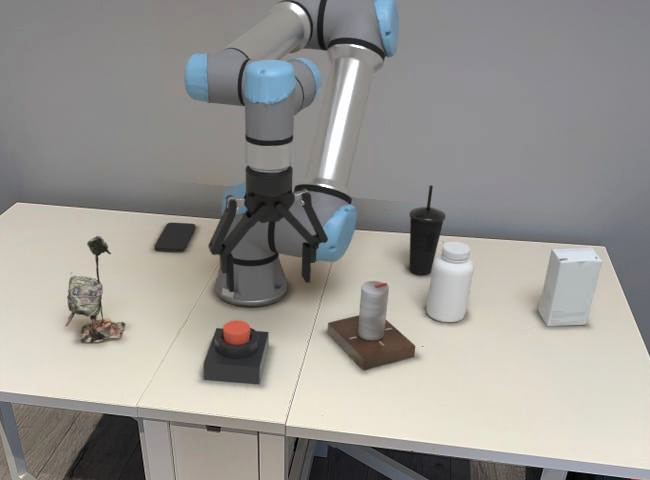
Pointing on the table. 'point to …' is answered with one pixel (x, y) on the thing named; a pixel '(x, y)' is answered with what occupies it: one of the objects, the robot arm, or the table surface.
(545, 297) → the cosmetic box
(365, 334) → the dial
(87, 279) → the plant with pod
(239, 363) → the button base
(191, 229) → the phone
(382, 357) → the panel
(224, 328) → the red push button
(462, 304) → the pill bottle
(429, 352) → the table surface
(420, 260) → the drinking cup
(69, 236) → the table surface
